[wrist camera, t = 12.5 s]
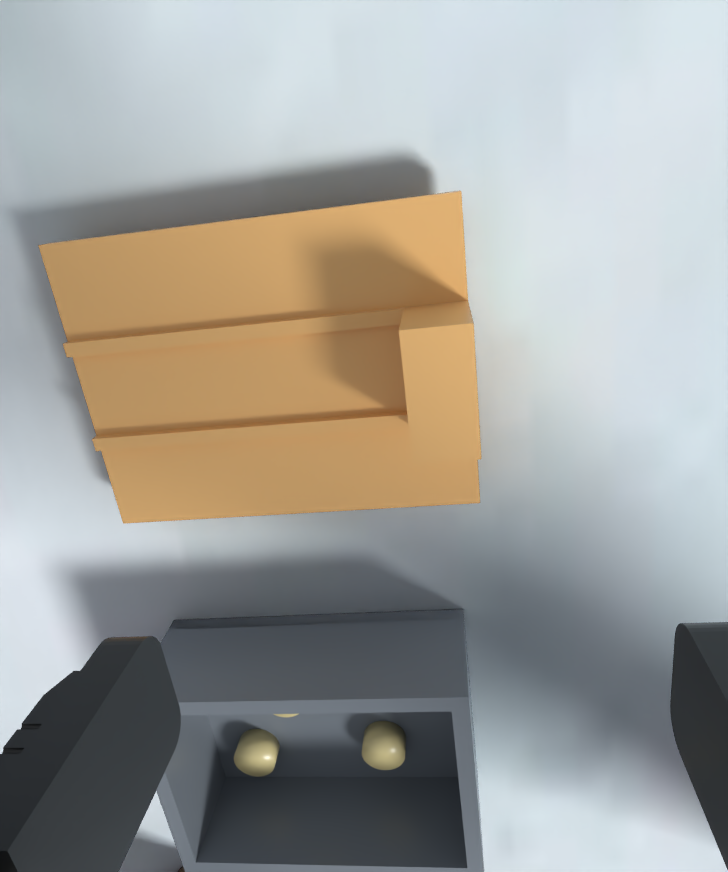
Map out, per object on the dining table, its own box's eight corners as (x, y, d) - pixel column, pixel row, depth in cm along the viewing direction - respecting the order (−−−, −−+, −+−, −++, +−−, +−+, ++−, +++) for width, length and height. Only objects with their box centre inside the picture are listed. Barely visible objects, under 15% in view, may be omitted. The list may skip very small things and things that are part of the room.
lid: (458, 189, 25) (466, 195, 20) (476, 477, 30) (487, 553, 24) (70, 239, 28) (-29, 258, 22) (145, 498, 33) (80, 571, 27)
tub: (463, 609, 33) (468, 697, 27) (477, 774, 37) (484, 879, 32) (174, 620, 35) (125, 703, 30) (219, 774, 40) (185, 872, 34)
